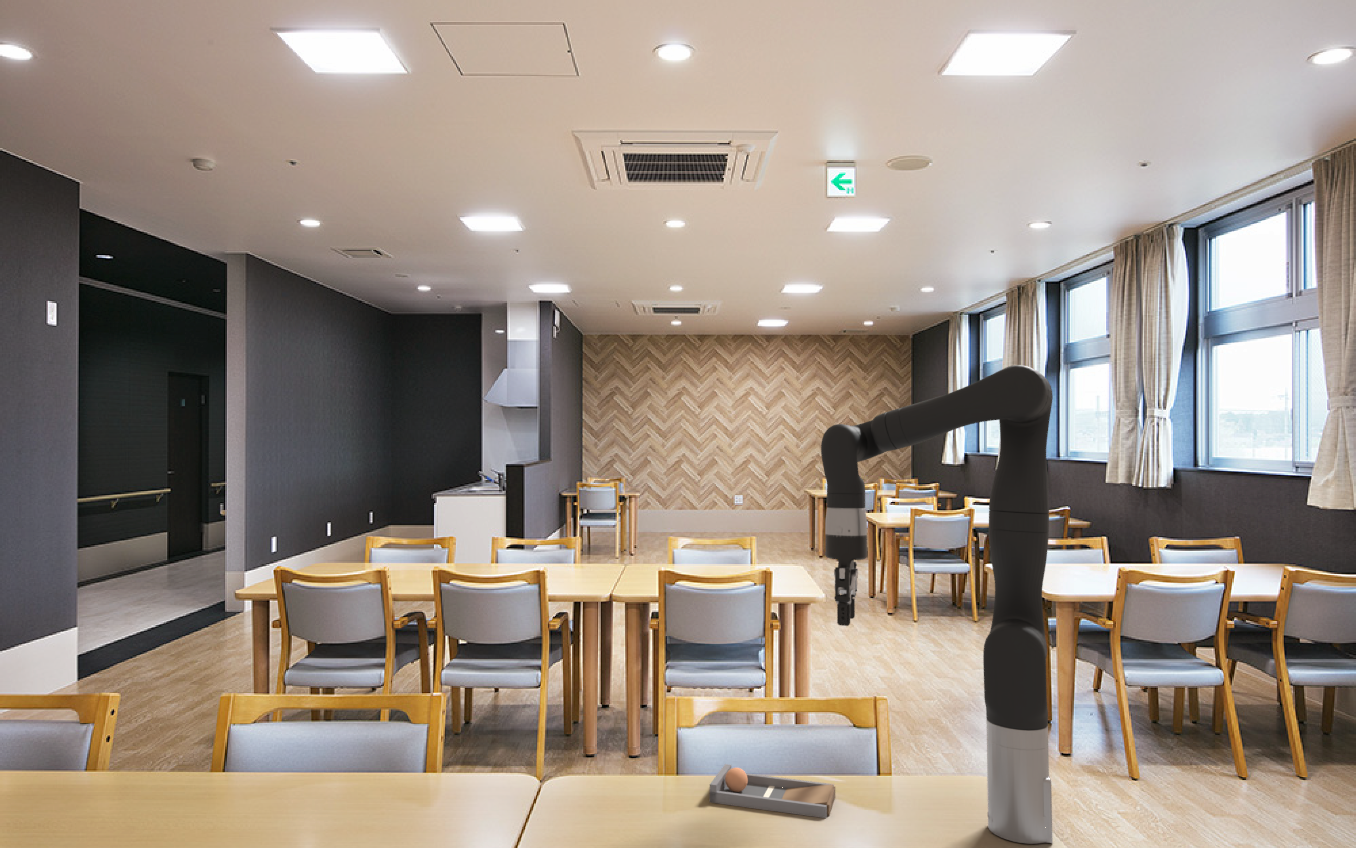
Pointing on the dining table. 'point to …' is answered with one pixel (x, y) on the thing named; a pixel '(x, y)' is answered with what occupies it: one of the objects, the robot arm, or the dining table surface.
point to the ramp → (812, 795)
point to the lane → (765, 794)
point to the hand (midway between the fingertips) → (846, 621)
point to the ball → (736, 779)
